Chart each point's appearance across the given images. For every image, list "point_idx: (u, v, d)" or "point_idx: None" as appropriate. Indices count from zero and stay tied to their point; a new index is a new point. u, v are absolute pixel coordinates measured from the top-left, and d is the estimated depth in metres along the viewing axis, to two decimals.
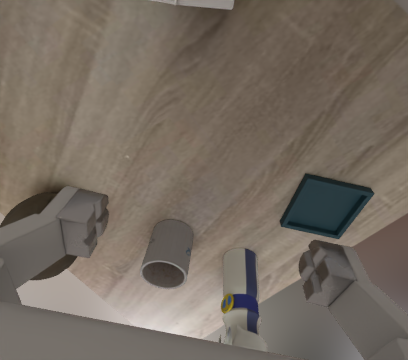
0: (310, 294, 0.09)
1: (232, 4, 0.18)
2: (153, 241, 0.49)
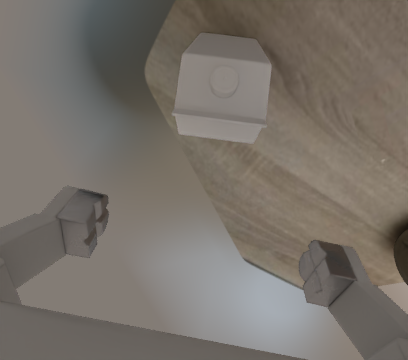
0: (310, 294, 0.09)
1: (267, 64, 0.20)
2: None
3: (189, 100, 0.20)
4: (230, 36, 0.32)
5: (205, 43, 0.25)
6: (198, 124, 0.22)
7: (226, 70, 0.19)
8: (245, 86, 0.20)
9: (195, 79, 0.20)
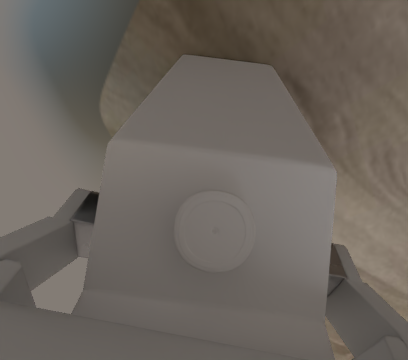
0: None
1: (326, 169, 0.08)
2: None
3: (122, 266, 0.08)
4: (230, 61, 0.19)
5: (181, 88, 0.13)
6: None
7: (219, 207, 0.07)
8: (270, 229, 0.08)
9: (139, 209, 0.08)
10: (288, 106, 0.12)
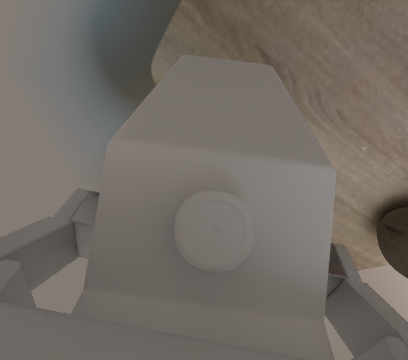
0: None
1: (325, 169, 0.08)
2: None
3: (122, 266, 0.08)
4: (230, 62, 0.19)
5: (181, 88, 0.13)
6: None
7: (219, 207, 0.07)
8: (269, 229, 0.08)
9: (139, 209, 0.08)
10: (288, 106, 0.12)
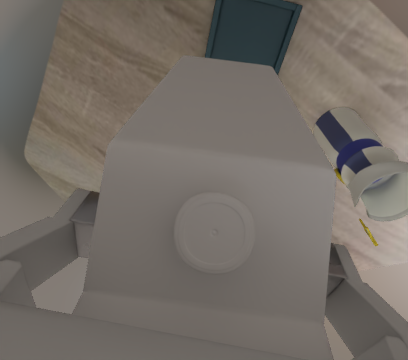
0: None
1: (325, 171, 0.08)
2: None
3: (122, 268, 0.08)
4: (230, 62, 0.19)
5: (181, 89, 0.13)
6: None
7: (219, 209, 0.07)
8: (269, 231, 0.08)
9: (139, 211, 0.08)
10: (288, 107, 0.12)
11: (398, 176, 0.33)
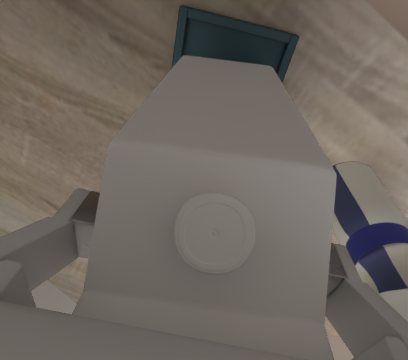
0: None
1: (326, 171, 0.08)
2: None
3: (122, 268, 0.08)
4: (230, 62, 0.19)
5: (181, 89, 0.13)
6: None
7: (219, 209, 0.07)
8: (269, 231, 0.08)
9: (139, 211, 0.08)
10: (288, 107, 0.12)
11: None
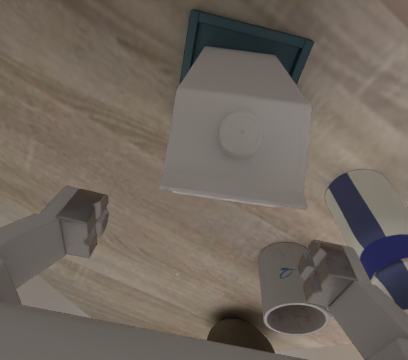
0: (310, 294, 0.09)
1: (306, 106, 0.13)
2: None
3: (186, 160, 0.13)
4: (242, 51, 0.25)
5: (211, 66, 0.18)
6: None
7: (244, 119, 0.12)
8: (272, 140, 0.13)
9: (195, 128, 0.13)
10: (285, 78, 0.18)
11: None
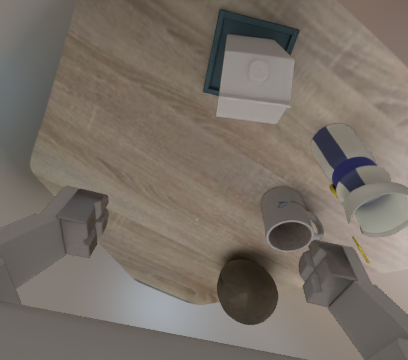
0: (310, 294, 0.09)
1: (291, 59, 0.26)
2: None
3: (230, 86, 0.26)
4: (253, 37, 0.37)
5: (237, 43, 0.31)
6: (235, 107, 0.28)
7: (261, 63, 0.25)
8: (274, 76, 0.26)
9: (235, 70, 0.26)
10: (281, 49, 0.30)
11: (390, 194, 0.35)
